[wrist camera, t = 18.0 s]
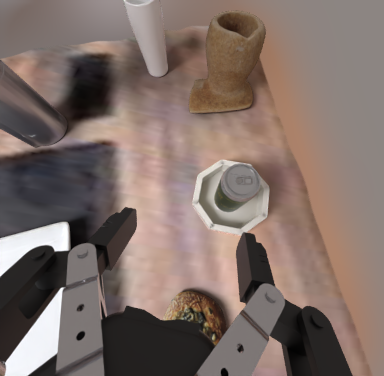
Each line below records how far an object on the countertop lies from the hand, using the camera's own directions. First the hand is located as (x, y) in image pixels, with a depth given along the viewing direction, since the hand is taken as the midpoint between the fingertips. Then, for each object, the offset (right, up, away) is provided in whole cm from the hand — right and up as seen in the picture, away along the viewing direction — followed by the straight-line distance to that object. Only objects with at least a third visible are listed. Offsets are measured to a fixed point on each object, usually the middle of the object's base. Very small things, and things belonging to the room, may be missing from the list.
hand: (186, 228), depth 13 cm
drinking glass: (-8, +34, +33) cm, 48 cm away
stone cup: (+7, +26, +30) cm, 40 cm away
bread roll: (+1, -21, +17) cm, 27 cm away
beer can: (+7, +1, +22) cm, 23 cm away
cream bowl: (+8, +1, +22) cm, 24 cm away
